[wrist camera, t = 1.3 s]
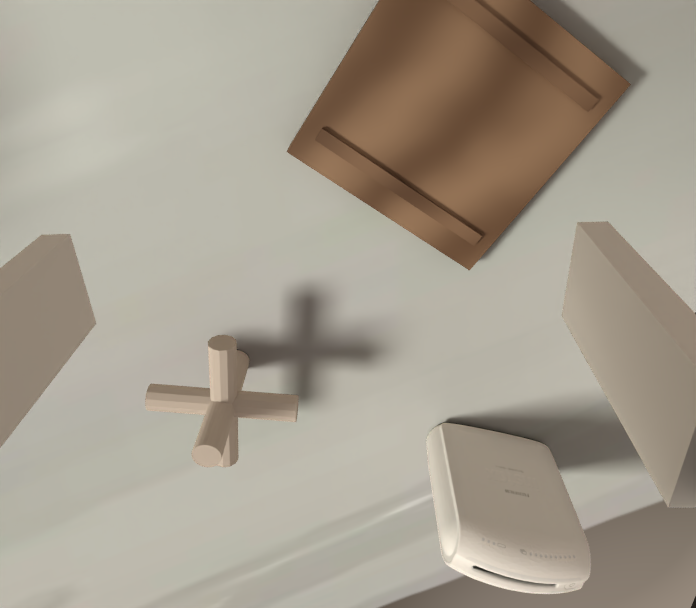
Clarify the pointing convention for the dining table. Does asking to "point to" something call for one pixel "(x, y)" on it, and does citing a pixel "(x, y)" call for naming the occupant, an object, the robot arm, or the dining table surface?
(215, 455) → the pipe connector
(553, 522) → the photo printer
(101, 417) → the dining table surface
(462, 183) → the trivet
